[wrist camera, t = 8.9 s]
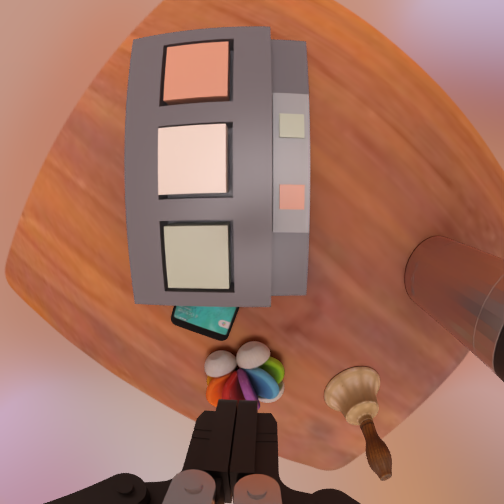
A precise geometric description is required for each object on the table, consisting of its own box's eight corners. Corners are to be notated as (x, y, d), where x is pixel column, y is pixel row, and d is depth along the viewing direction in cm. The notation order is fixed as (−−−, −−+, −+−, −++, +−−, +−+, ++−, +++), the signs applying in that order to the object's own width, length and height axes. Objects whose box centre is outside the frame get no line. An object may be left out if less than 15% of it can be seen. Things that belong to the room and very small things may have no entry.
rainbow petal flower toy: (196, 351, 34) (185, 387, 27) (271, 330, 34) (276, 365, 27) (222, 399, 36) (217, 437, 29) (291, 381, 35) (298, 419, 28)
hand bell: (359, 413, 37) (390, 494, 21) (312, 403, 36) (334, 496, 21) (390, 372, 35) (439, 451, 20) (343, 359, 34) (385, 451, 19)
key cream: (228, 128, 26) (225, 123, 23) (228, 191, 27) (225, 192, 24) (166, 132, 26) (158, 128, 23) (166, 193, 27) (158, 194, 25)
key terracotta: (230, 51, 25) (228, 41, 22) (229, 102, 26) (227, 95, 24) (173, 56, 25) (167, 47, 22) (170, 106, 26) (163, 100, 24)
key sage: (229, 222, 29) (227, 225, 26) (231, 280, 30) (229, 288, 28) (171, 222, 29) (163, 226, 26) (174, 279, 30) (168, 287, 28)
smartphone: (271, 222, 30) (225, 343, 33) (270, 221, 31) (226, 340, 34) (205, 199, 30) (168, 323, 33) (206, 199, 31) (170, 320, 34)
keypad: (304, 45, 26) (310, 29, 22) (304, 291, 32) (311, 306, 28) (145, 53, 26) (133, 39, 22) (147, 290, 32) (135, 303, 29)
